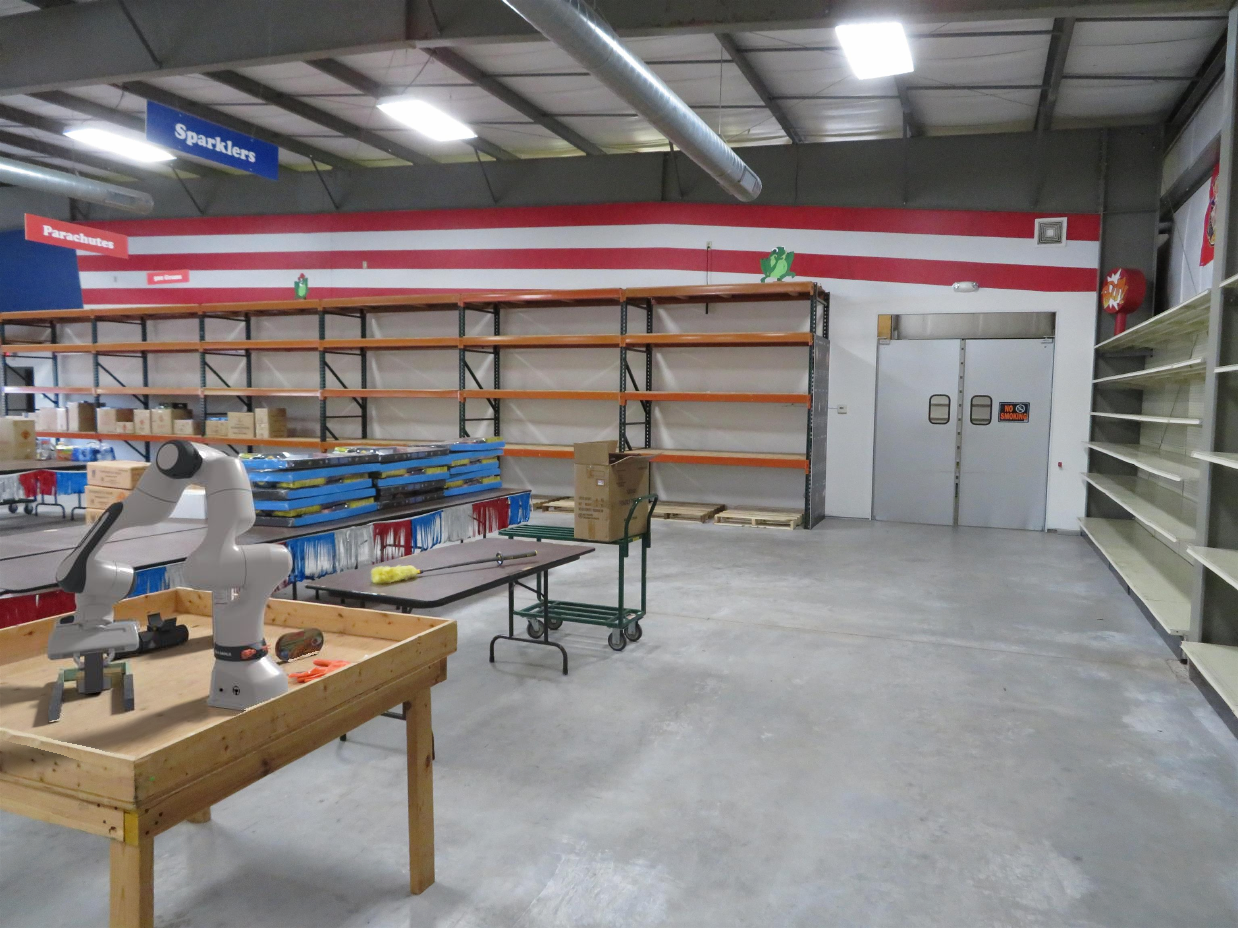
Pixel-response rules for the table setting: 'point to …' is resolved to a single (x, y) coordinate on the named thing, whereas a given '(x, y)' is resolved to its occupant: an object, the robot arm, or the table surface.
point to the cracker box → (219, 605)
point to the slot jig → (59, 693)
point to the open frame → (72, 672)
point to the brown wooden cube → (113, 676)
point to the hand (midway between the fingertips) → (94, 668)
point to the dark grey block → (94, 674)
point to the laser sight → (158, 636)
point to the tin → (299, 643)
